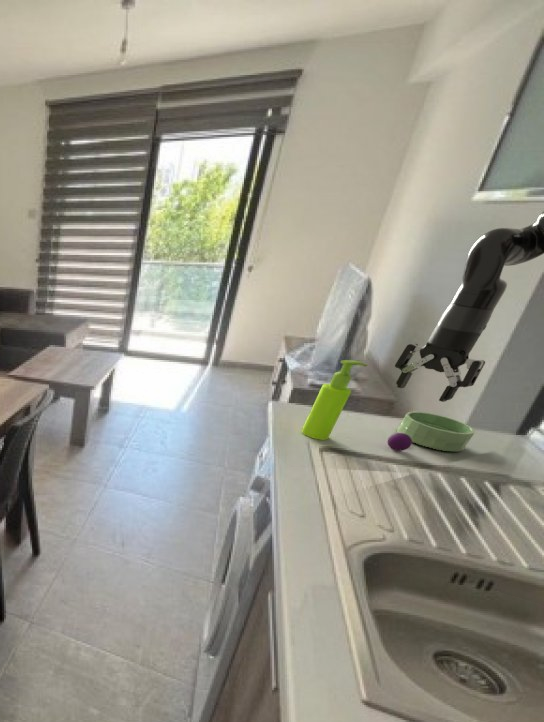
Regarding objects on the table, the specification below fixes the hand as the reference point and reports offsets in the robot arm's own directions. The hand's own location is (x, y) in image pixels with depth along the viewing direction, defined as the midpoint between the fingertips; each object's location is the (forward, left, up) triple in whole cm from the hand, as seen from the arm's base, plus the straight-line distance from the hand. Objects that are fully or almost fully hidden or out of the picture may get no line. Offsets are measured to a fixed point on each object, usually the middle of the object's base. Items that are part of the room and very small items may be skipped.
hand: (421, 394), depth 114 cm
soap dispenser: (+11, +13, -14) cm, 22 cm away
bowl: (-1, -14, -14) cm, 20 cm away
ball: (-1, +1, -12) cm, 12 cm away
